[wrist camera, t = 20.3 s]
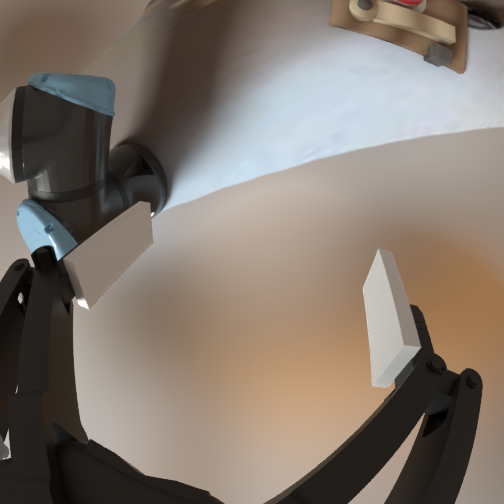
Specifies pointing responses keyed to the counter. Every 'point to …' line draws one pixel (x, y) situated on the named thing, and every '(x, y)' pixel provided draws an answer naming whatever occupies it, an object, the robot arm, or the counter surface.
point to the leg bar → (402, 19)
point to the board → (434, 5)
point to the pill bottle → (406, 3)
